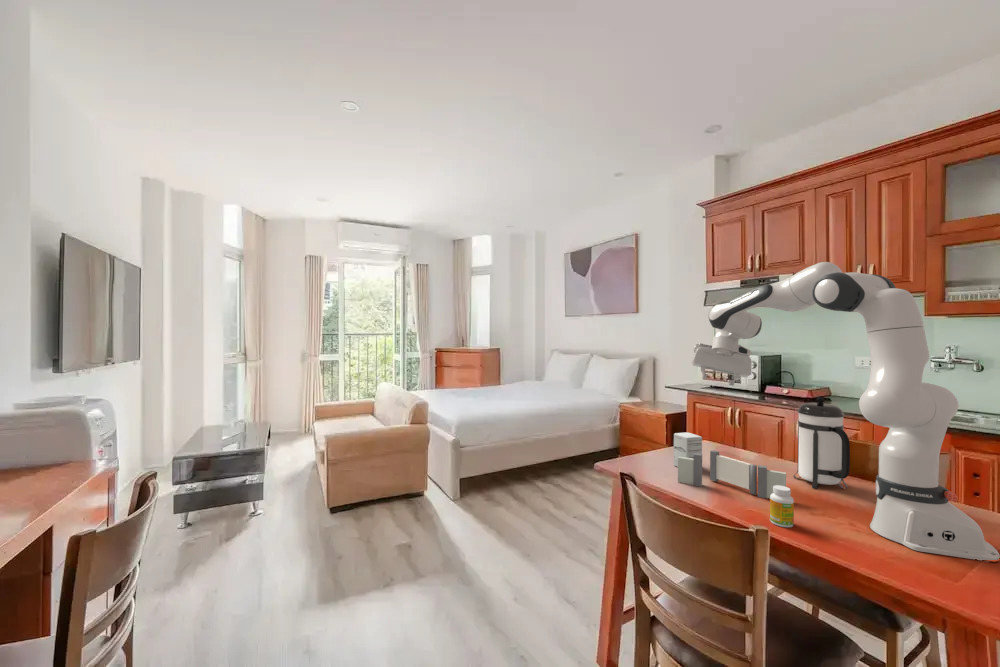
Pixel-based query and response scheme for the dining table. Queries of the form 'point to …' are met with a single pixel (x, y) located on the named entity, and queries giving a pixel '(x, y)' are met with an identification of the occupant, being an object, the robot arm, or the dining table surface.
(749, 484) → the gate
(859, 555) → the dining table surface
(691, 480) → the fence
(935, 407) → the robot arm
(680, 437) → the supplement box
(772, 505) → the supplement bottle
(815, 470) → the coffee press
